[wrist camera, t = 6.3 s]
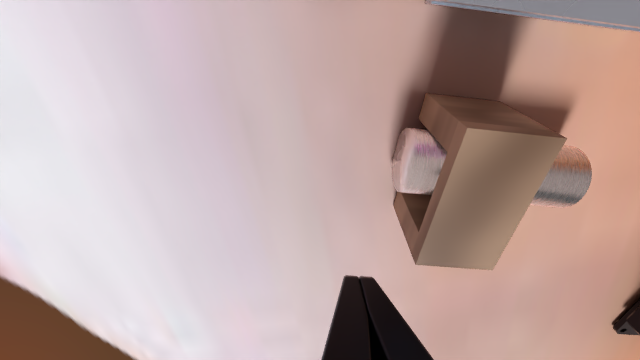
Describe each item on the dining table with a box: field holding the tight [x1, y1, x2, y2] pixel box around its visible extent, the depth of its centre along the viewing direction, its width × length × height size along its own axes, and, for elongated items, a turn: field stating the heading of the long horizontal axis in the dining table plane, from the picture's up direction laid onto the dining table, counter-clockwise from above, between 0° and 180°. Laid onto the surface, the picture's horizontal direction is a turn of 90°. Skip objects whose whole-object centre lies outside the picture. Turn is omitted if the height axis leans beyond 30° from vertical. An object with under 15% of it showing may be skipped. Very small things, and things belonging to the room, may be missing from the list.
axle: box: [392, 128, 592, 208], centre depth 16 cm, size 9×3×3 cm, turn 83°
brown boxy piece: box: [393, 93, 567, 270], centre depth 16 cm, size 4×7×5 cm, turn 174°
